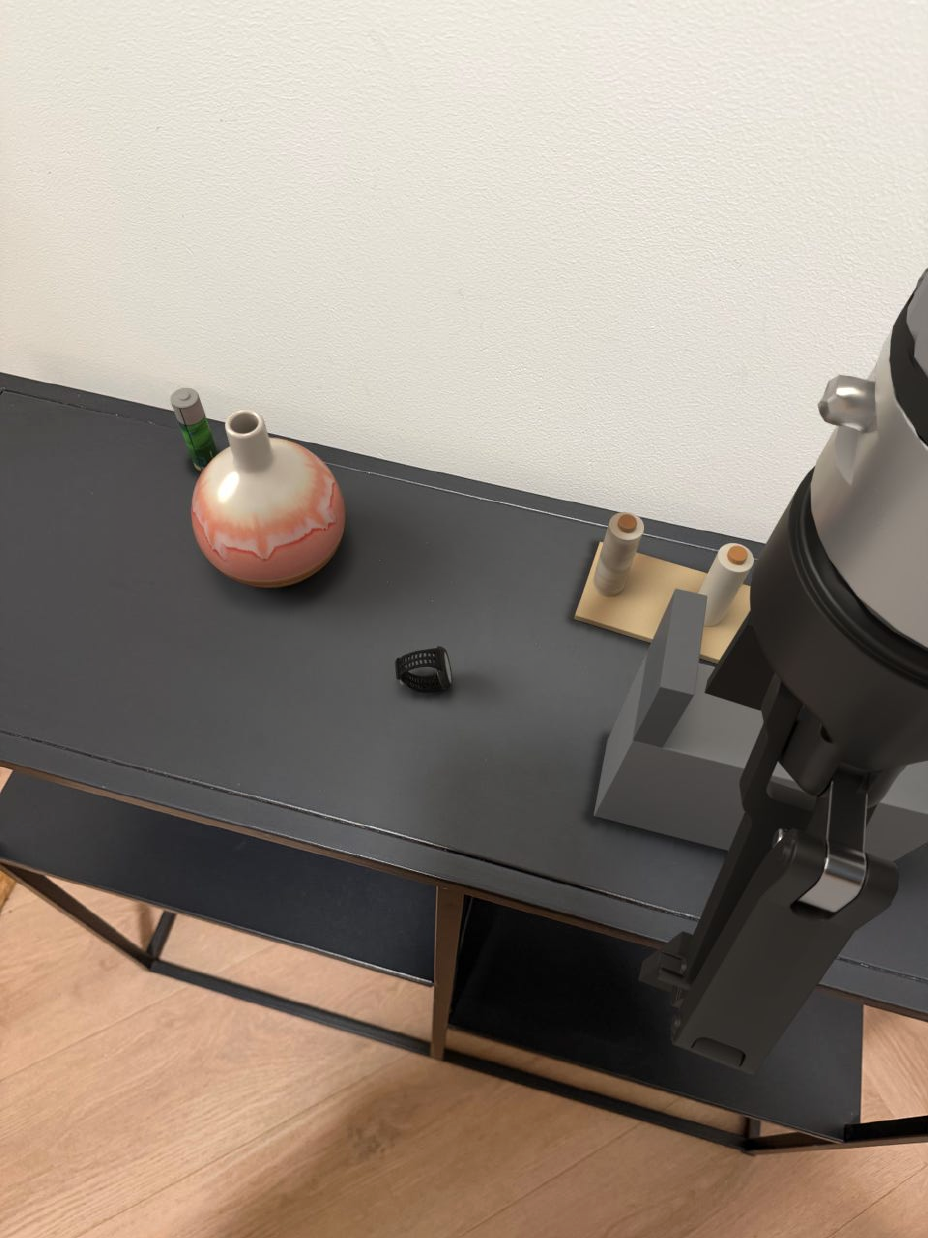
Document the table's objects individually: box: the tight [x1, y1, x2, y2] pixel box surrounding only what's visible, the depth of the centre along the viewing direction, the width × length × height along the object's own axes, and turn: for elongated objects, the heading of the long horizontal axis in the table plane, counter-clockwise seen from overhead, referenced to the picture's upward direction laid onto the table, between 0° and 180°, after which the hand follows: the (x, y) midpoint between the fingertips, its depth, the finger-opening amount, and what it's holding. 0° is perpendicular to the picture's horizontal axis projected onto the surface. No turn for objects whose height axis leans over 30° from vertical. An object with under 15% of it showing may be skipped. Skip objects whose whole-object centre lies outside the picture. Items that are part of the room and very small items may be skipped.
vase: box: [190, 409, 347, 589], centre depth 74 cm, size 14×14×18 cm
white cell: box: [698, 542, 755, 626], centre depth 74 cm, size 3×3×10 cm
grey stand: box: [593, 589, 928, 862], centre depth 59 cm, size 21×7×24 cm, turn 75°
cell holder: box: [573, 511, 751, 665], centre depth 74 cm, size 23×9×10 cm, turn 70°
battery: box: [169, 387, 219, 473], centre depth 83 cm, size 3×3×10 cm
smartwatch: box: [394, 645, 453, 693], centre depth 72 cm, size 4×5×5 cm
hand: (705, 826), depth 37 cm, fingers open, 13 cm apart
